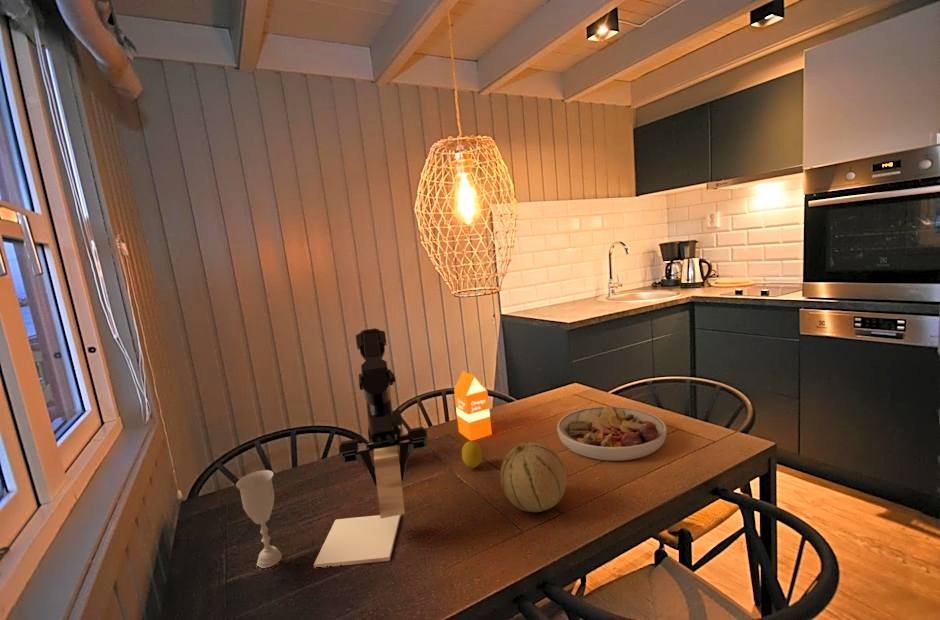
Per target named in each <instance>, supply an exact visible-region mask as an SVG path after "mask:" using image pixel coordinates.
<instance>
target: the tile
mask: <svg viewBox="0 0 940 620" xmlns="http://www.w3.org/2000/svg"><path fill="white" fill-rule="evenodd" d="M401 516H402V515H397V516H392V517H387V518H382V519H381V518H380V514H379V515H369V516H367V515H366V516H358V517H347V518H338V519H334V522H333V524H332V526H331V528H330V530H329V532H328V534H327V536H326V538H325V540H324V543H323V545H322V546H321V548H320V551H319V553H318V555H317V557H316V559H315V561H314V564H313V568H314V569H317V568H316V567H322V568H330V567H329V566H332V567H341V566H340V565H342V566H350V565H352V566H353V565H360V564H371V563H381V562H390V561H391V558H392V553H393V549H394V545H395V540H396V536H397V534H398V529H399V524H400V520H401ZM327 566H328V567H327Z"/></svg>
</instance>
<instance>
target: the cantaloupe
mask: <svg viewBox="0 0 940 620" xmlns="http://www.w3.org/2000/svg"><path fill="white" fill-rule="evenodd" d="M567 475H568V474H567V470H566V465H565V464H564V462H563V460H562V458H561V457H560V455H559V454H558V453H557V452H556V451H555V450H554V449H552V448H551V447H550V446H548V445H545V444H543V443H539V442H538V443H537V442H534V441H532V442H524V443H522V444H519V445H517V446H515V447H514V448H512V449H511V450H510V451H509V452H508V453H507V454H506V455H505V457H504V458H503V461H502V464H501V467H500V485H501V488H502V490H503V492H504V495H505V496H506V498H507V499H508V501H509V502H511V504H512V505H513V506H514V507H515V508H517V509H519V510H522V511H524V512H529V513H540V512H543V511H547V510H549V509H550V510H551V509H552V508H553V507H555V505H557V504H558V503H560V500H561V499H562V497H563V496H564V494H565V491H566V489H567V481H568V479H567V478H568V477H567Z"/></svg>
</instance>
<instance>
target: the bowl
mask: <svg viewBox="0 0 940 620" xmlns="http://www.w3.org/2000/svg"><path fill="white" fill-rule="evenodd" d="M556 430H557V435H558V438H559V440H560V441H561V442H562V443H563V445H564V446H565V447H567V448H568V449H569V450H571V451H572V452H574V453H575V454H578V455H580V456H583V457H587V458H590V459H593V460H600V461H602V460H603V461H610V462H611V461H613V462H614V461H615V462H616V461H618V462H619V461H629V460H631V461H632V460H636V459H637V460H638V459H639V458H644V457H646V456H649V455H650V454H653V453H655V452H656V451H657V450H659V449H660V448H661V446H662V445H664V443H665V440H666V437H667V426H666V423H665V422H664V421H663V420H662V419H661V418H660V417H658V416H657V415H655V414H653V413H650V412H648V411H644V410H641V409H638V408H632V407H625V406H612V405H611V406H593V407H586V408H581V409H578V410H575V411H571V412H569V413H568V414H566V415H564V416H562V417H561V418H560V419H559V421H558V422H557V425H556Z"/></svg>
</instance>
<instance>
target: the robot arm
mask: <svg viewBox="0 0 940 620" xmlns="http://www.w3.org/2000/svg"><path fill="white" fill-rule="evenodd" d="M355 341H356V349H357V350H358V351H359V353H360V357H362V359H363V360H364V362H363V363H362V364H361V365H360V368H361V369H360V371H361V373H359V374H358V384H359V385H358V387H359V390H360V391H363V395H364V399H365V401H366V402H365V404H366V411H367V413H366V415H367V422H368V427H367V429H368V430H367V435H368V442H362V443H359V439H358V438H355V439H350V440H343V441H341V442H340V443H339V445H338V454H339V456H340V459H341V462H342V463H344V464H347V463H352V462H357V464H359V465H360V464H362V465H363V466H364V468H365V470H366V471H367V472H368V474H369V477H370V478H371V480H372V482H373V483H372V484H373V485H374V487H375V488H377V482H376V473H375V464H374V465H373V461H372V456H371V452H374V449H379V448H385V447H391V446H397V447H399V450H398V454H399V463H400V472H401V482H404V478H405V472H406V467H407V463H408V460H409V457H410V455H411V454H413V453H415V451H414V450H418V449H424V448H426V447H428V434H427V433H428V432H427V430H426V428H425V427H423V426H420V427H419V426H418V427H415V428H408V429H407V435H403V434H402V429H401V428H400V426H402V425H403V422H402V421H403V420H402V414H401V409H397V410H393V405H392V403H393V401H392V395H391V386H394V383H396V377H395V373H394V372H393V371H392V369H391V368H390V369H389V368H388V363H387V362H388V361H386V360H384V359H383V357H384V355H385V353H386V351H385V350H386V348H385V347H387V345H388V344H387V337H386V331H384V330H380V329H379V328H377V327H376V328H375V327H374V328H367V329H363V330H362V331H360V332H359V333H357V334H355Z"/></svg>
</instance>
